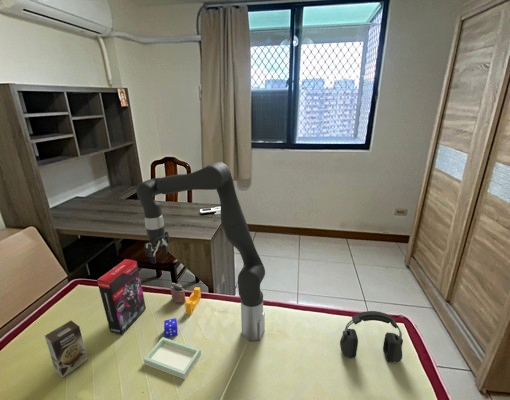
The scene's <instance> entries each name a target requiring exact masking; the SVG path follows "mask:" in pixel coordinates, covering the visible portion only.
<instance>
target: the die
mask: <svg viewBox="0 0 510 400" xmlns="http://www.w3.org/2000/svg"><path fill="white" fill-rule="evenodd" d="M163 329H164V338H167V339H168V338H172V337H175V336H178V335H179V334H178V321H177V317H175V318H170V319H165V320H164V321H163Z"/></svg>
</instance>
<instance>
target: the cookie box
mask: <svg viewBox="0 0 510 400" xmlns="http://www.w3.org/2000/svg"><path fill="white" fill-rule="evenodd" d="M81 332H82V331H81V328H80V325H78V324H77V323H76V322H74V321H73V320H69V321H67V322H65V323H64V324H62V325H61V326H59V327H57V328H56V329H54V330H52V331H50V332H49V333H47V334H45V335H44V338H45V341H46V344H47V348H48V351H49V355H50V358H51V362H52V365H53V369H54V370H55V371H56V372H57V373H58V375H59V376H60V377H62V378H64V377H65V376H67V375H68V374H69V373H71V372H72V371H75V369H76V368H78V367H79V366H81V365H82V364H84V363H85V362H87V361H88V355H87V350H86V347H85V344H84V339H83V336H82V335H83V334H82V333H81Z"/></svg>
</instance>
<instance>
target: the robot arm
mask: <svg viewBox="0 0 510 400" xmlns="http://www.w3.org/2000/svg"><path fill="white" fill-rule="evenodd" d="M196 190H198V191H200V190H204V191H205V190H206V191H208V190H210V191H211V190H216V192H217V194H218V199H219V203H220V222H221V225H222V229H223V231H224V234H225V237H226V239H227V241H228V242H229V243H230V244H231V245H232V246H233V247H234V248H235V249H236V250H237V251H238V252H239V254H240V257H241V259H242V263H243V267H242V268H241V270H240V272H239V273H238V275H237V289H238V290H237V291H238V295H239V298H240V317H241V320H240V321H241V334H242V338H244V339H246V341H249V342H250V341H251V342H255V341H261V340H262V338H263V335H264V333H265V331H266V330H265V328H266V327H265V326H266V324H265V323H266V321H265V320H266V319H265V316H266V315H265V312H264V294H263V293H264V292H263V291H262V290H261V283H262V282H263V279H265V276H266V269H265V266H264V264H263V261H262V259H261V257H260V255H259V253H258V251H257V248H256V246H255V244H254V240H253V238H252V236H251V233H250V229H249V226H248V222H247V220H246V218H245V215H244V212H243V209H242V207H241V203H240V201H239V198H238V196H237V192H236V188H235V184H234V180H233V176H232V172H231V170H230V167H228V165H227V164H225V162H222V161H217V162H214V163H211V164H208V165H206V166H205V167H203V168H201V169H199V170H196V171H194V172H190V173H185V174H172V175H167V176H162V177H156V178H155V177H154V178H151V179H148V180H145V181H142V182H140V183H138V184H137V187H136V195H137V197H138V200H139V202H140V203H141V206H142V209H143V213H144V214H143V215H144V223H145V233H146V237H147V238H148V239H149V242H147V243H144V245H143V246H144V253H145V257H146V258H149V260H150V264H153V265H155V264H156V263H157V257H156V253H157V252H158V250H159V248H160V247H161V251H162V255H168V245H169V244H171V243H170V236H169V231H166V229H165V221H164V220H165V219H164V217H163V216H164V215H163V211H162V205H161V202H159V201H157V200H154V199H153V197H155V196H158V195H170V194H177V193H181V192H186V191H196Z"/></svg>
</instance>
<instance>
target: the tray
mask: <svg viewBox="0 0 510 400" xmlns="http://www.w3.org/2000/svg"><path fill="white" fill-rule="evenodd" d="M201 355H202V350H201V349H200V348H197V347H195V346H192V345H189V344H185V343H181V342H179V341H176V340H173V339H170V338H168V337H167V338H165V336H162V337H161V338H160V339H159V341H158V342H157V343H156V344H155V345H154V346H153V347H152V348H151V350H150V351H149V352H148V353H147V354H146V355H145V356H144V358H143V363H144V365H146V366H148V367H151V368H153V369H156V370H159V371H162V372H164V373H165V374H166V373H167V374H170V375H172V376H175V377H177V378H180V379H183V380H186V378H187V377H188V376H189V374H190V372H191V371H192V369H193V368H194V366H195V364H196V363H197V362H198V360H199V358H200V357H201Z"/></svg>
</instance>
